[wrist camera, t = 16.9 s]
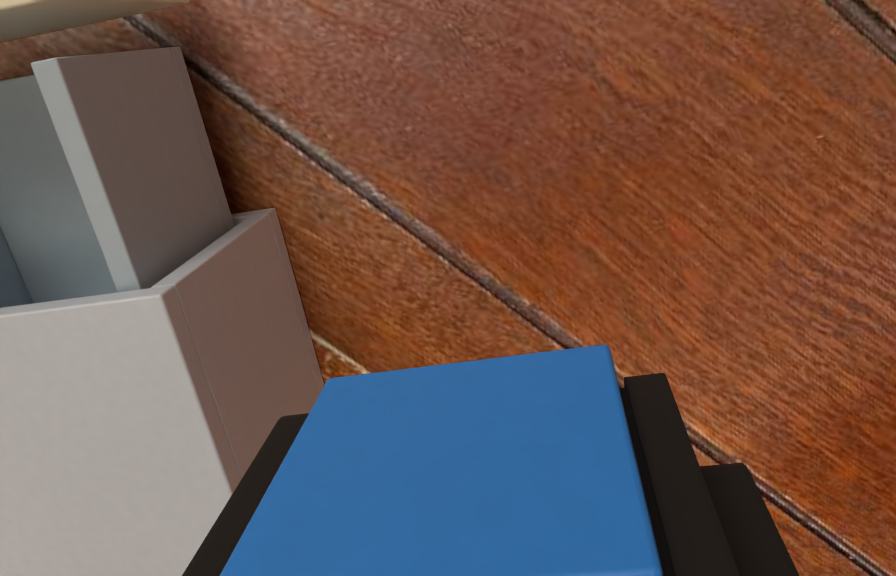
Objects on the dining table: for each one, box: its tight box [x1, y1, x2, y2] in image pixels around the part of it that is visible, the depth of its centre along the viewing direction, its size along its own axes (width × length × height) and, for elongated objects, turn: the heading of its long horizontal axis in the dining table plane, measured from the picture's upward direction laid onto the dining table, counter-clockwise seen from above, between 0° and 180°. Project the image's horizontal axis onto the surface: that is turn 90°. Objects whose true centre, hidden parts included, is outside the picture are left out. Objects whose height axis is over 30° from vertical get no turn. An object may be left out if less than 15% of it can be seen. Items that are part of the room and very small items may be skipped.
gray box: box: [0, 208, 324, 576], centre depth 26 cm, size 15×13×9 cm
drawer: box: [0, 0, 235, 308], centre depth 22 cm, size 19×11×7 cm, turn 10°
